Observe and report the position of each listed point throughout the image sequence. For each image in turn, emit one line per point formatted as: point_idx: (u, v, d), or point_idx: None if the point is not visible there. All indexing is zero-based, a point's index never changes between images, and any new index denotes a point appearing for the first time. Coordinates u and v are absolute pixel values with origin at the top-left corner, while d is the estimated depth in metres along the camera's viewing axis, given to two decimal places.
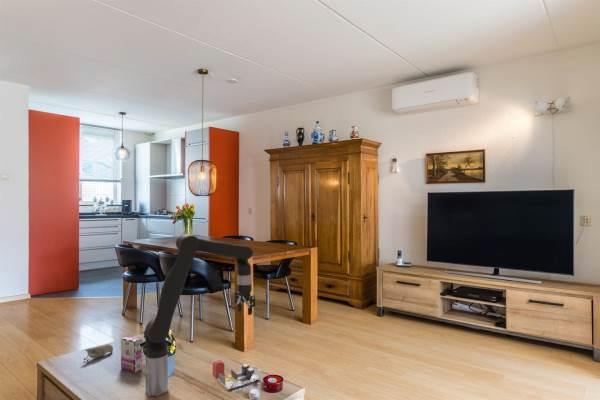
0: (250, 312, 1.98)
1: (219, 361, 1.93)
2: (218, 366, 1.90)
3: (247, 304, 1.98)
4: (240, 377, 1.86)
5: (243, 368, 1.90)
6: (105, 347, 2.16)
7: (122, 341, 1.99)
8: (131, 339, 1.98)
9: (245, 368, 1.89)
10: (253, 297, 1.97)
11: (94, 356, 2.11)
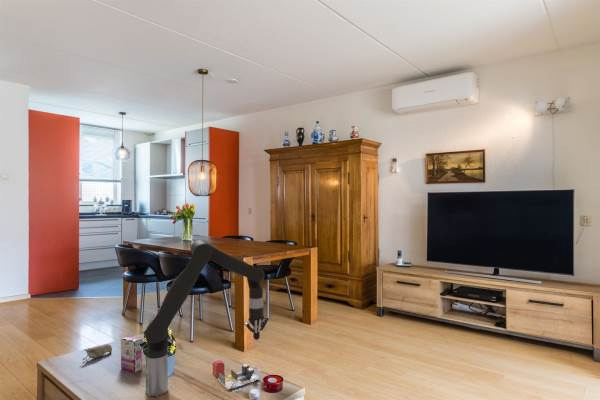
0: (259, 336, 1.95)
1: (219, 361, 1.93)
2: (218, 366, 1.90)
3: (259, 328, 1.94)
4: (240, 377, 1.86)
5: (243, 368, 1.90)
6: (104, 347, 2.16)
7: (122, 341, 1.99)
8: (131, 339, 1.98)
9: (245, 368, 1.89)
10: None
11: (93, 356, 2.11)
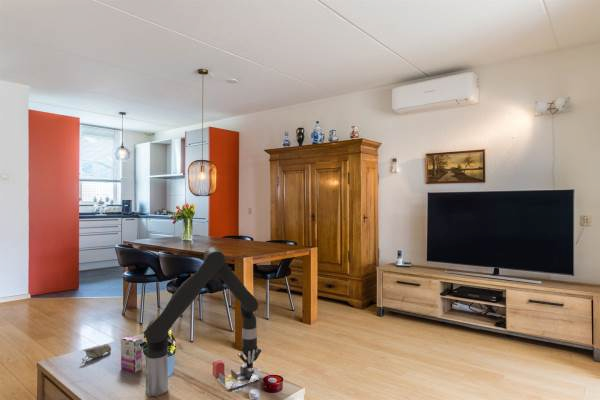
0: (252, 366, 1.93)
1: (219, 361, 1.93)
2: (218, 366, 1.90)
3: (252, 358, 1.92)
4: (240, 377, 1.86)
5: (241, 368, 1.89)
6: (103, 347, 2.16)
7: (122, 341, 1.99)
8: (131, 339, 1.98)
9: (243, 368, 1.89)
10: None
11: (93, 356, 2.10)
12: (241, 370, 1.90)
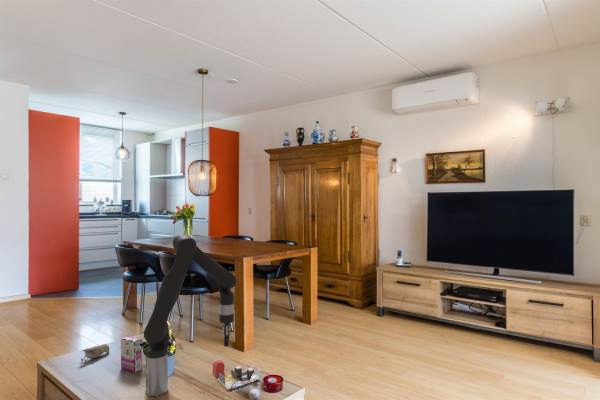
0: None
1: (219, 361, 1.93)
2: (218, 366, 1.90)
3: None
4: (240, 377, 1.86)
5: (236, 370, 1.88)
6: (102, 347, 2.16)
7: (122, 341, 1.99)
8: (131, 339, 1.98)
9: (238, 370, 1.87)
10: None
11: (91, 356, 2.10)
12: None
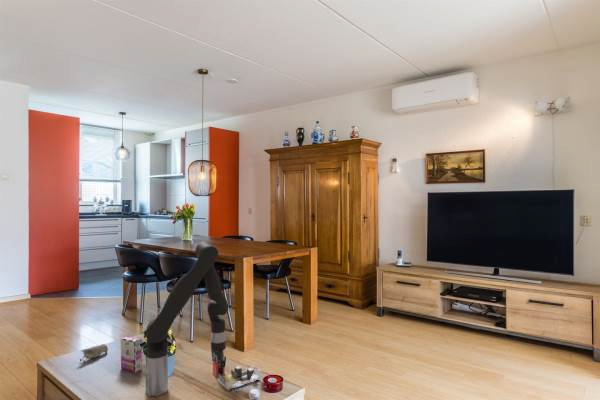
0: None
1: None
2: None
3: None
4: (240, 377, 1.86)
5: (236, 370, 1.88)
6: (101, 347, 2.16)
7: (122, 341, 1.99)
8: (131, 339, 1.98)
9: (238, 370, 1.87)
10: None
11: (90, 357, 2.10)
12: None
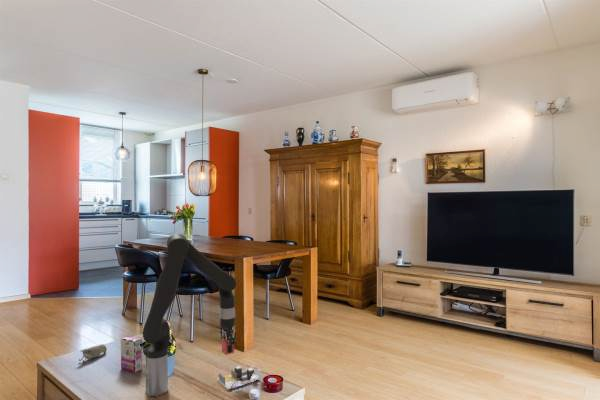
0: None
1: None
2: None
3: None
4: (240, 377, 1.86)
5: (236, 370, 1.88)
6: (100, 347, 2.16)
7: (122, 341, 1.99)
8: (131, 339, 1.98)
9: (238, 370, 1.87)
10: None
11: (90, 357, 2.10)
12: None
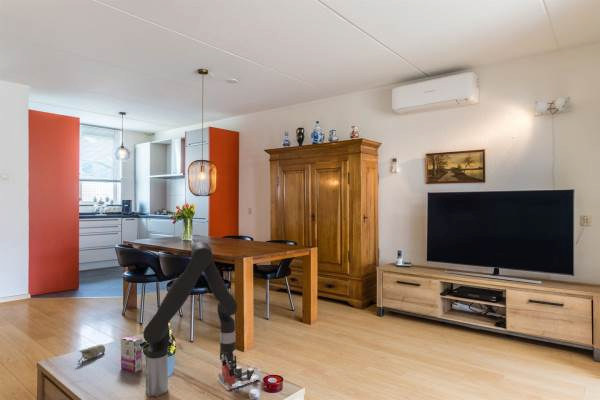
0: None
1: None
2: (228, 370, 1.83)
3: None
4: (240, 377, 1.86)
5: (236, 370, 1.88)
6: (98, 348, 2.16)
7: (122, 341, 1.99)
8: (131, 339, 1.98)
9: (238, 370, 1.87)
10: None
11: (88, 357, 2.10)
12: None
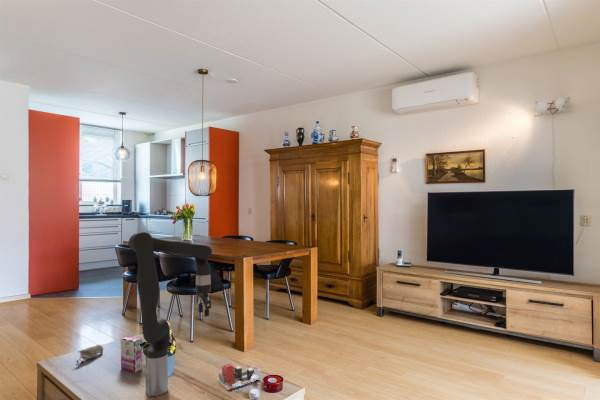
0: None
1: (229, 365, 1.86)
2: (228, 370, 1.83)
3: None
4: (240, 377, 1.86)
5: (236, 370, 1.88)
6: (97, 348, 2.15)
7: (122, 341, 1.99)
8: (131, 339, 1.98)
9: (238, 370, 1.87)
10: None
11: (87, 357, 2.09)
12: None
